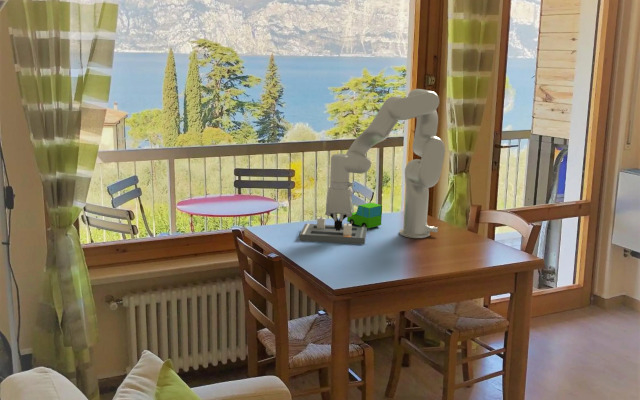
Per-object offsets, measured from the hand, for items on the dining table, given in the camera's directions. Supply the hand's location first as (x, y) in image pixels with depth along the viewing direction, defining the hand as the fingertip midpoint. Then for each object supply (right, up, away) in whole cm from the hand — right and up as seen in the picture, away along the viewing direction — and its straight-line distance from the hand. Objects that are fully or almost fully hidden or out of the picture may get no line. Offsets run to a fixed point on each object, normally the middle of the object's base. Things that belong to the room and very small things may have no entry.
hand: (338, 229), depth 256 cm
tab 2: (+4, -3, 0) cm, 5 cm away
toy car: (+12, +1, +22) cm, 25 cm away
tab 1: (-7, -1, +9) cm, 12 cm away
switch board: (-2, -3, +5) cm, 6 cm away
